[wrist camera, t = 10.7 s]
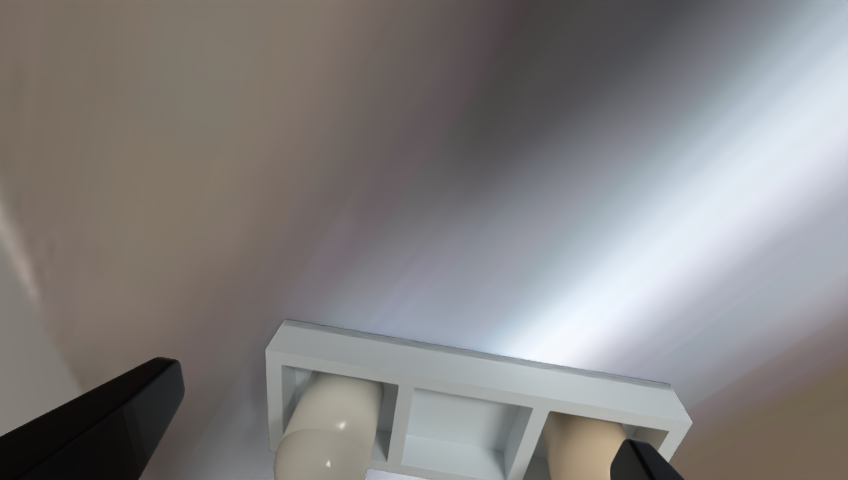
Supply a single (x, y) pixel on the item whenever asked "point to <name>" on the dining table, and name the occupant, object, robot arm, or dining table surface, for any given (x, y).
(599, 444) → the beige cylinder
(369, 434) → the white capsule shape
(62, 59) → the dining table surface
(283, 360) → the divided compartment tray
